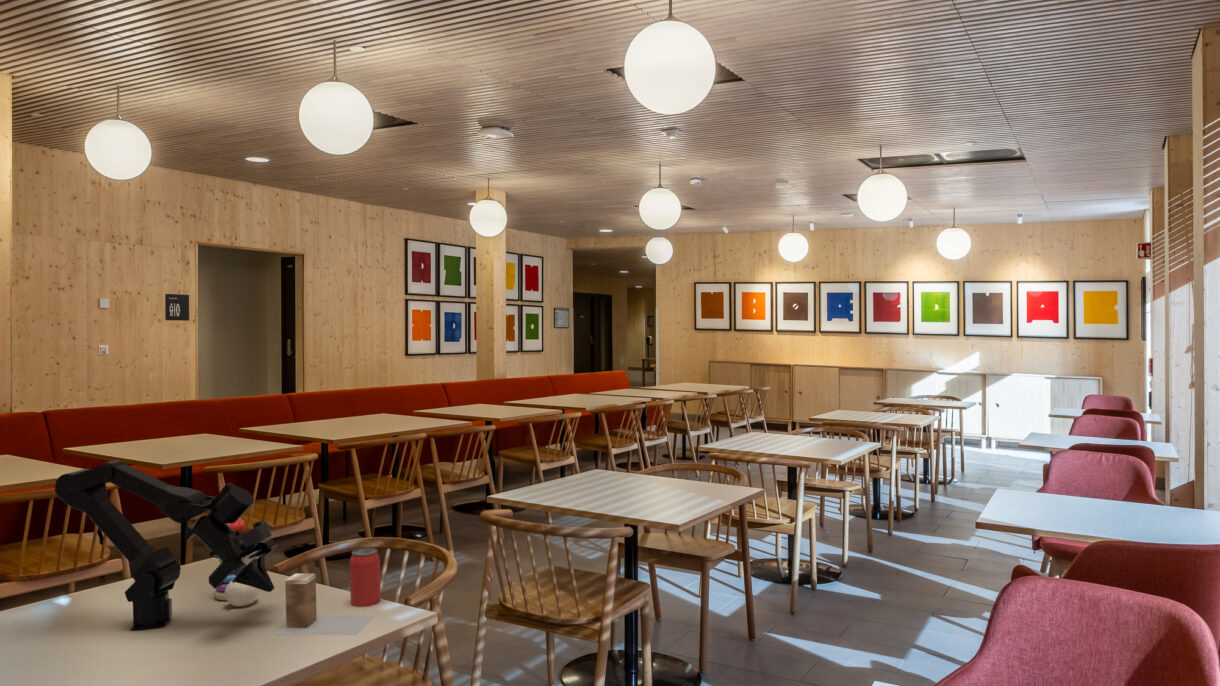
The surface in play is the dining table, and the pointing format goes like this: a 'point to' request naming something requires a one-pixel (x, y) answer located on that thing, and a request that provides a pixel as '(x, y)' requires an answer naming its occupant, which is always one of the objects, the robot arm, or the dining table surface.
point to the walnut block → (300, 600)
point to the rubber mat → (332, 625)
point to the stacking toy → (221, 590)
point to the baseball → (240, 594)
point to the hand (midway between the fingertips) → (272, 590)
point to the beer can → (365, 577)
